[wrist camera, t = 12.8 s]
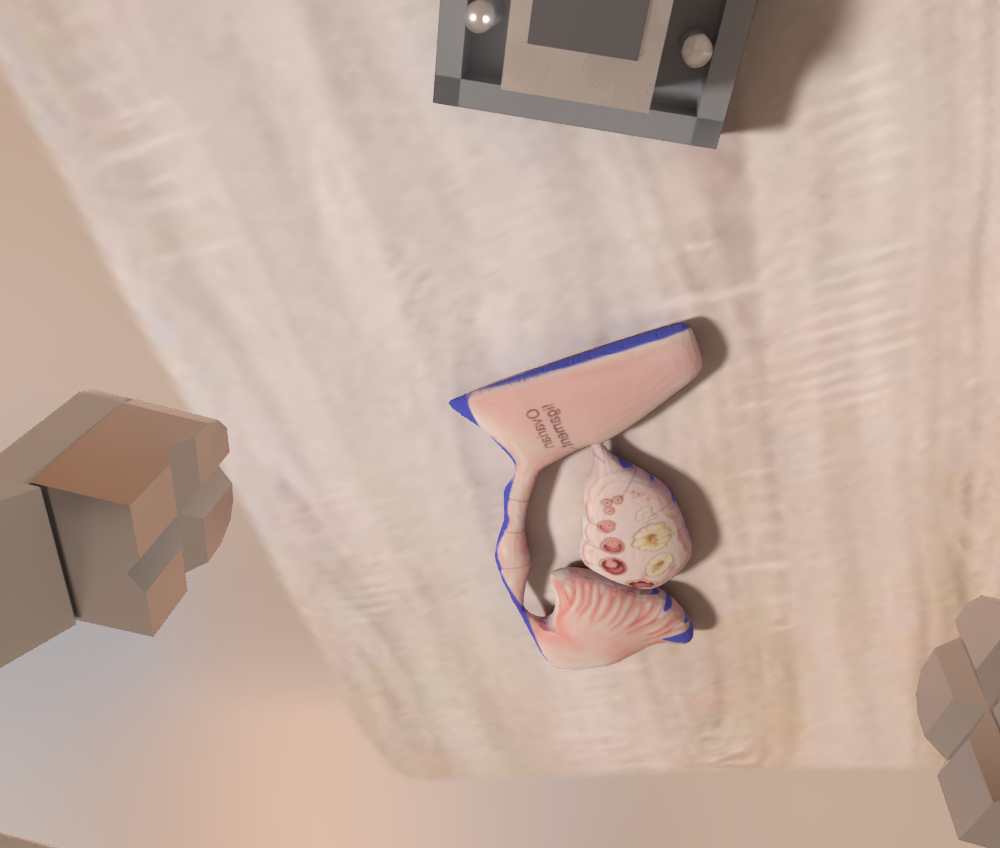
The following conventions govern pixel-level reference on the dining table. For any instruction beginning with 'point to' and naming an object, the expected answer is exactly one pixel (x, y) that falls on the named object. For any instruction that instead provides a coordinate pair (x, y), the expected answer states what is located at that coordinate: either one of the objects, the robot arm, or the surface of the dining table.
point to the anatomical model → (595, 495)
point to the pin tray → (672, 115)
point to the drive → (586, 50)
